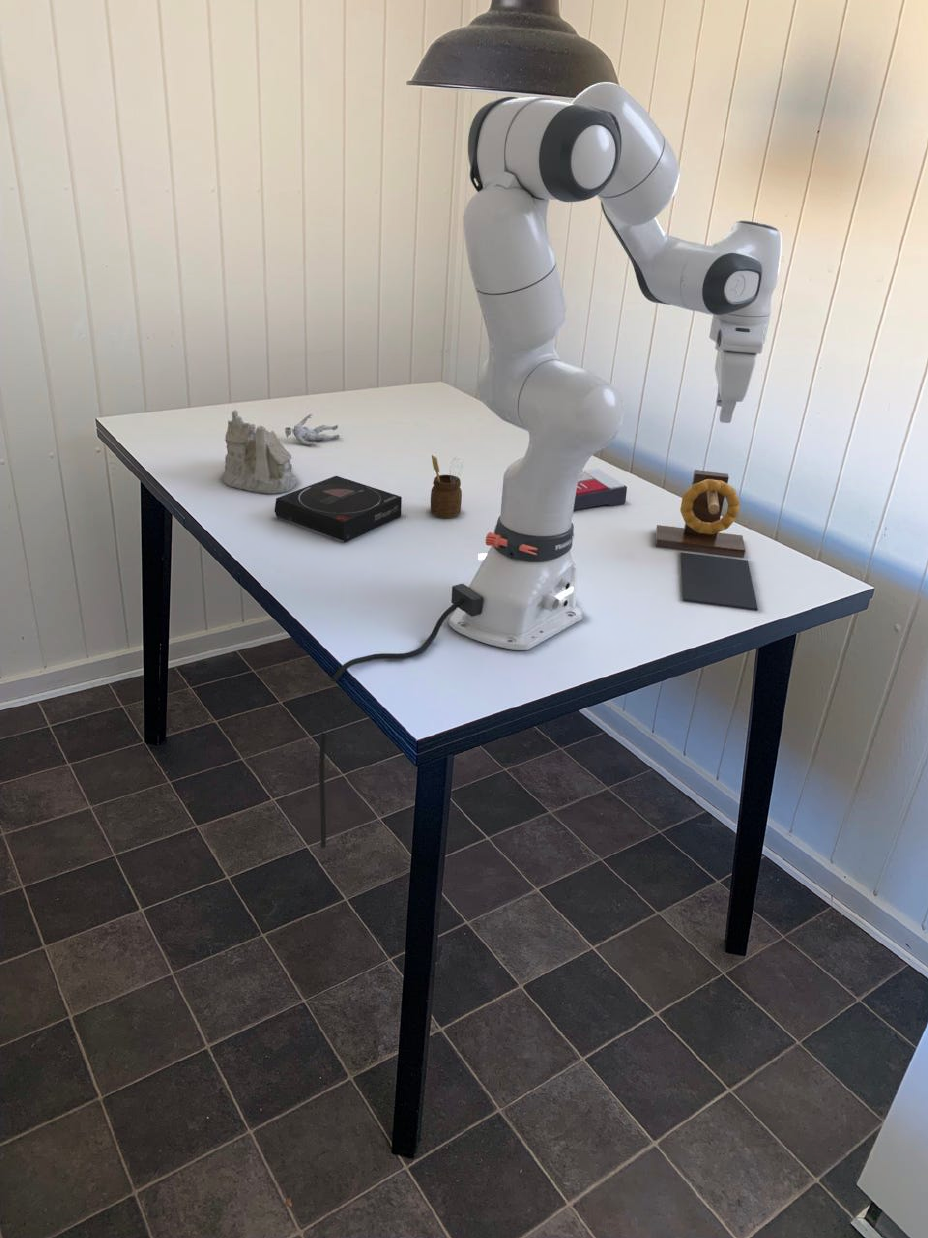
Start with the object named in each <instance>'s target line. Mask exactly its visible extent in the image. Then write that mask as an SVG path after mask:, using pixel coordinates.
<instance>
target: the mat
mask: <svg viewBox="0 0 928 1238" xmlns="http://www.w3.org/2000/svg"><path fill="white" fill-rule="evenodd" d="M680 568H681V569H680V570H681V586H682V601H683V602H689V603H696V604H706V605H712V606H719V607H727V608H736V609H743V610H751V611H758V609H759V608H758V603H757V598H756V593H755V588H754V583H753V577H752V573H751V568H750V564H749V560H746V559H738V558H730V557H723V556H722V557H721V556H715V555H706V554H698V553H691V552H690V553H689V552H682V551H681V552H680Z"/></svg>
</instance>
